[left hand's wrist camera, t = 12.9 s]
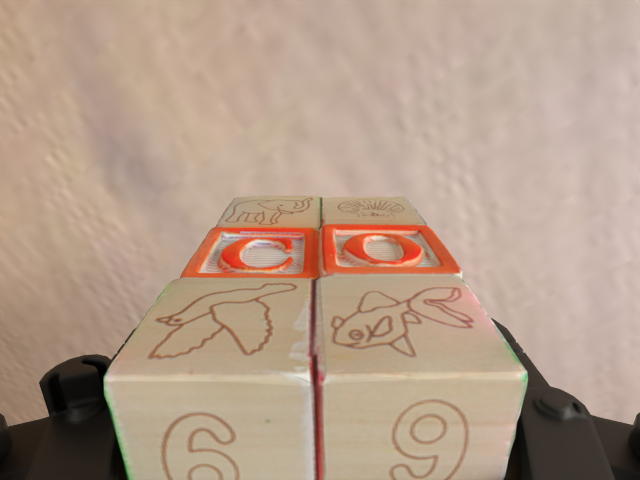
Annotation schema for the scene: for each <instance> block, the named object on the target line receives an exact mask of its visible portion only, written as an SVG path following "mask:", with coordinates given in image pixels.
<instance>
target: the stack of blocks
mask: <svg viewBox="0 0 640 480" xmlns="http://www.w3.org/2000/svg"><path fill="white" fill-rule="evenodd" d="M462 272H463V271H462V270H461V268H460V266H459V265H458V263H457V262H456V261H455V259H454V258H453V257H452V255H451V254H450V253H449V251H448V250H447V248H446V247H445V246H444V244H443V243H442V242H441V241H440V239H439V238H438V237H437V235H436V234H435V233H434V231H433V230H432V229H431V228H430V227H428V226H427V225H426V222H425V221H424V219H423V218H422V217H421V216H420V215H419V213H418V212H417V210H416V209H415V208H414V207H413V206H412V204H411V203H410V201H409V200H408V199H407V198H405V197H323V198H321V197H316V196H257V197H239V198H235V199H233V201H232V202H231V203H230V205H229V206H228V207H227V209H226V210H225V212H224V213H223V215H222V217H221V219H220V220H219V222H218V224H217V225H216V227H215V228H212V229H211V230H210V231H209V233H208V234H207V236H206V238H205V239H204V241H203V242H202V244H201V245H200V247H199V248H198V250H197V251H196V253H195V254H194V255H193V257H192V258H191V259H190V261H189V263H188V264H187V266H186V268H185V269H184V271H183V273H182V274H181V277H180V279H176V280H173V281H172V282H170V283H169V284H168V285H167V286H166V288H165V289H164V291H163V292H162V293H161V294H160V296H159V297H158V298H157V300H156V302H155V304H154V305H153V306H152V307H151V308H150V310H149V311H148V312H147V314H146V315H145V317H144V318H143V319H142V321H141V322H140V324H139V325H138V327H137V328H136V330H135V331H134V333H133V334H132V335H131V337H130V338H129V340H128V341H127V343H126V344H125V345H124V347H123V348H122V350H121V351H120V352H119V354H118V355H117V357H116V358H115V359H114V361H113V362H112V363H111V365H110V367H109V368H108V370H107V372H106V373H105V375H104V377H103V378H104V396H105V399H106V402H107V405H108V407H109V411H110V415H111V418H112V422H113V426H114V429H115V433H116V437H117V440H118V444H119V447H120V451H121V454H122V458H123V462H124V466H125V471H126V475H127V479H128V480H504V478H505V474H506V469H507V463H508V459H509V455H510V452H511V448H512V445H513V442H514V440H515V435H516V425H517V421H518V418H519V416H520V412H521V408H522V404H523V400H524V396H525V392H526V388H527V383H528V375H527V371H526V369H525V368H524V366H523V365H522V364H521V362H520V361H519V359H518V358H517V356H516V355H515V353H514V352H513V350H512V349H511V347H510V346H509V344H508V342H507V341H506V339H505V338H504V336H503V335H502V333H501V332H500V331H499V329H498V328H497V326H496V325H495V324H494V322H493V321H492V320H491V318H490V317H489V316H488V314H487V313H486V312H485V310H484V309H483V308H482V306H481V305H480V303H479V302H478V300H477V298H476V297H475V295H474V294H473V292H472V291H471V290H470V288H469V287H468V286H467V285H466V283H465V282H464V280H463V279H462Z"/></svg>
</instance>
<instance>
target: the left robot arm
mask: <svg viewBox="0 0 640 480" xmlns="http://www.w3.org/2000/svg"><path fill="white" fill-rule="evenodd" d="M491 320H492V321H493V322H494V324H495V325H496V326H497V328H498V329H499V331H500V332H501V333H502V335H503V336H504V338H505V339H506V341H507V342H508V344H509V346H510V347H511V349H512V350H513V352H514V353H515V355H516V356H517V358H518V359H519V361H520V362H521V364H522V365H523V366H524V368H525V369H526V371H527V375H528V383H527V388H526V392H525V396H524V400H523V404H522V408H521V412H520V416H519V418H518V421H517V425H516V435H515V440H514V442H513V445H512V448H511V452H510V455H509V459H508V463H507V469H506V474H505V478H504V480H640V413H639V414H637V416H636V419H635V421H634V424H633V425H630V424H626V423H621V422H617V421H613V420H608V419H604V418H600V417H596V416H593V415H590V413H589V412H588V410H587V408H586V407H585V405H583V404H582V403H581V402H580V401H579V400H578V399H576V398H575V397H574V396H572V395H570V394H568V393H566V392H564V391H563V390H560V389H557V388H554V387H550V386H549V384H548V383H547V382H546V380H545V379H544V378H543V376H542V375H541V374H540V372H539V371H538V370H537V368H536V367H535V366H534V364H533V363H532V362H531V360H530V359H529V358H528V356H527V355H526V354H525V353H523V350H522V348H521V347H520V346H519V344H518V343H516V340H515V339H514V337H513V336H512V335H511V333H510V332H509V331H508V329H507V328H505V327H504V326H502V325H501V324H500V323H498V322H497V321H495V320H494V319H492V318H491ZM135 330H136V329H134V330H133V331H132V333H131V334H130V336H129V337H128V338H127V340H126V341H125V344H126V343H127V341H128V340H129V338H130V337H131V335H132V334H133V333H134V331H135ZM125 344H123V345H122V346H121V348H120V349H119V350H118V353H117V354H115V356H114V357H113V358H112V360H110V359H109V358H108V357H107V356H102V355H97V354H96V355H83V356H80V357H76V358H72V359H69V360H67V361H65V362H63V363H61V364H59V365H57V366H55V367H54V368H53V369H51V370H50V371H49V372H47V373H46V374H45V375H44V377H43V378H42V379H41V381H40V382H39V384H40V387H41V390H42V393H43V397H44V400H45V403H46V406H47V409H48V412H49V417H46V418H43V419H39V420H35V421H31V422H26V423H22V424H18V425H13V426H9V427H8V426H7V423H6V420H5V418H4V416H3V415H2V414H0V480H128V479H127V475H126V471H125V466H124V462H123V458H122V454H121V451H120V447H119V444H118V440H117V437H116V433H115V429H114V426H113V422H112V418H111V415H110V411H109V407H108V405H107V402H106V399H105V396H104V378H103V377H104V375H105V373H106V372H107V370H108V368H109V367H110V365H111V363H112V362H113V361H114V359H115V358H116V357H117V355H118V354H119V352H120V351H121V350H122V348H123V347H124V345H125Z"/></svg>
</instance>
